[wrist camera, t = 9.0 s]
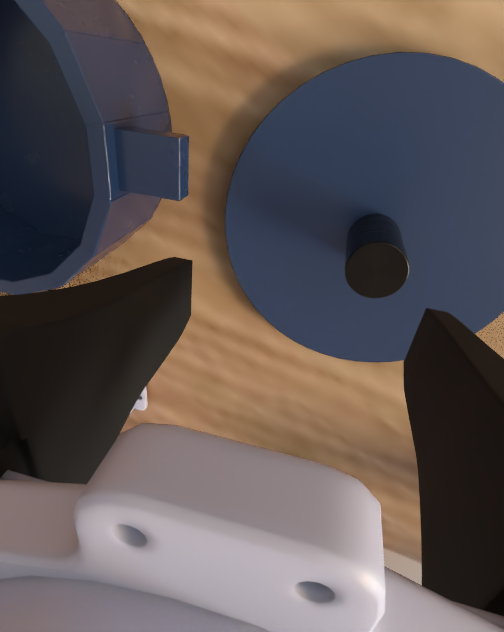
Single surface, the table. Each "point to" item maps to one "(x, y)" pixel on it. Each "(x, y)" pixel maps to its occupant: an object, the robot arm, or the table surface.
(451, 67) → the lid
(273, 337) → the table surface
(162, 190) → the pot
